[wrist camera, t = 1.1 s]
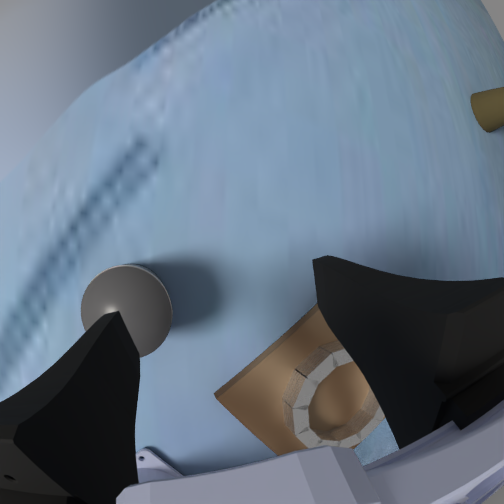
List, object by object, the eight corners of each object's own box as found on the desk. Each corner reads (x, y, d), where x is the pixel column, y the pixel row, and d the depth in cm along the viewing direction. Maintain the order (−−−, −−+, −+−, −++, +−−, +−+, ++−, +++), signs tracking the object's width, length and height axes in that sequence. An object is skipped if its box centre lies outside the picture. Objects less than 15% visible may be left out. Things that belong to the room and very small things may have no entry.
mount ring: (320, 458, 24) (331, 469, 22) (259, 398, 22) (268, 410, 20) (393, 386, 26) (407, 392, 24) (348, 316, 25) (363, 320, 23)
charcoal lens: (128, 351, 20) (122, 377, 16) (81, 294, 20) (62, 304, 15) (183, 306, 22) (192, 321, 17) (136, 247, 21) (132, 245, 16)
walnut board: (308, 478, 25) (313, 484, 24) (213, 393, 22) (216, 398, 21) (409, 379, 28) (415, 382, 27) (347, 274, 26) (354, 275, 25)
